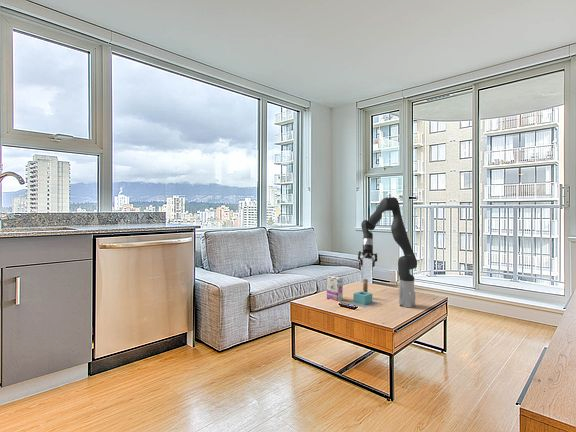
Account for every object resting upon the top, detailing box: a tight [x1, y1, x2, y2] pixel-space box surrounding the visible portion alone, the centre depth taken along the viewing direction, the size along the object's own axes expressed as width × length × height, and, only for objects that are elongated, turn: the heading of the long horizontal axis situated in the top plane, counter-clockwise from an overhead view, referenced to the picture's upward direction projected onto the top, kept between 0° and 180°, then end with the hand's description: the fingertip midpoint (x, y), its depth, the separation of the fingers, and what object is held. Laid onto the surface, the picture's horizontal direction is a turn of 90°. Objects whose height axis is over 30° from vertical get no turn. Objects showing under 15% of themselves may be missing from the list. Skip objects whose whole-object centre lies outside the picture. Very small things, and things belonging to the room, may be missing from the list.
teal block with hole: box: [352, 290, 373, 305], centre depth 227 cm, size 9×9×6 cm
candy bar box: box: [326, 275, 344, 302], centre depth 234 cm, size 11×5×16 cm, turn 37°
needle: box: [362, 278, 369, 293], centre depth 237 cm, size 3×3×14 cm
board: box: [348, 300, 379, 308], centre depth 225 cm, size 14×16×1 cm
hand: (367, 266), depth 249 cm, fingers open, 8 cm apart
